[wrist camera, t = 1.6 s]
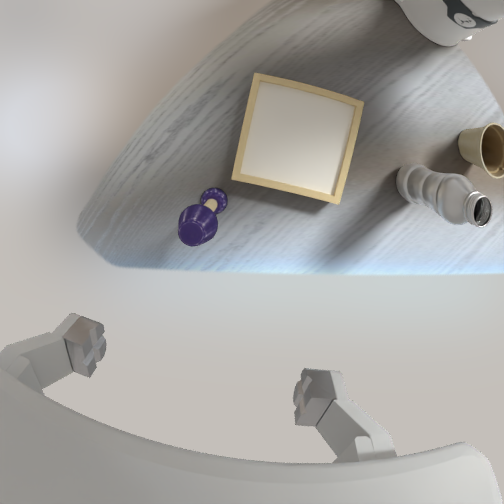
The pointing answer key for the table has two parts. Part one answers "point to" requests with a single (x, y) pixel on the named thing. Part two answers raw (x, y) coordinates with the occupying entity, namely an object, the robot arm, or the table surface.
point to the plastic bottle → (444, 194)
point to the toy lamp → (202, 218)
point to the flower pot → (484, 148)
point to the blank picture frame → (297, 138)
